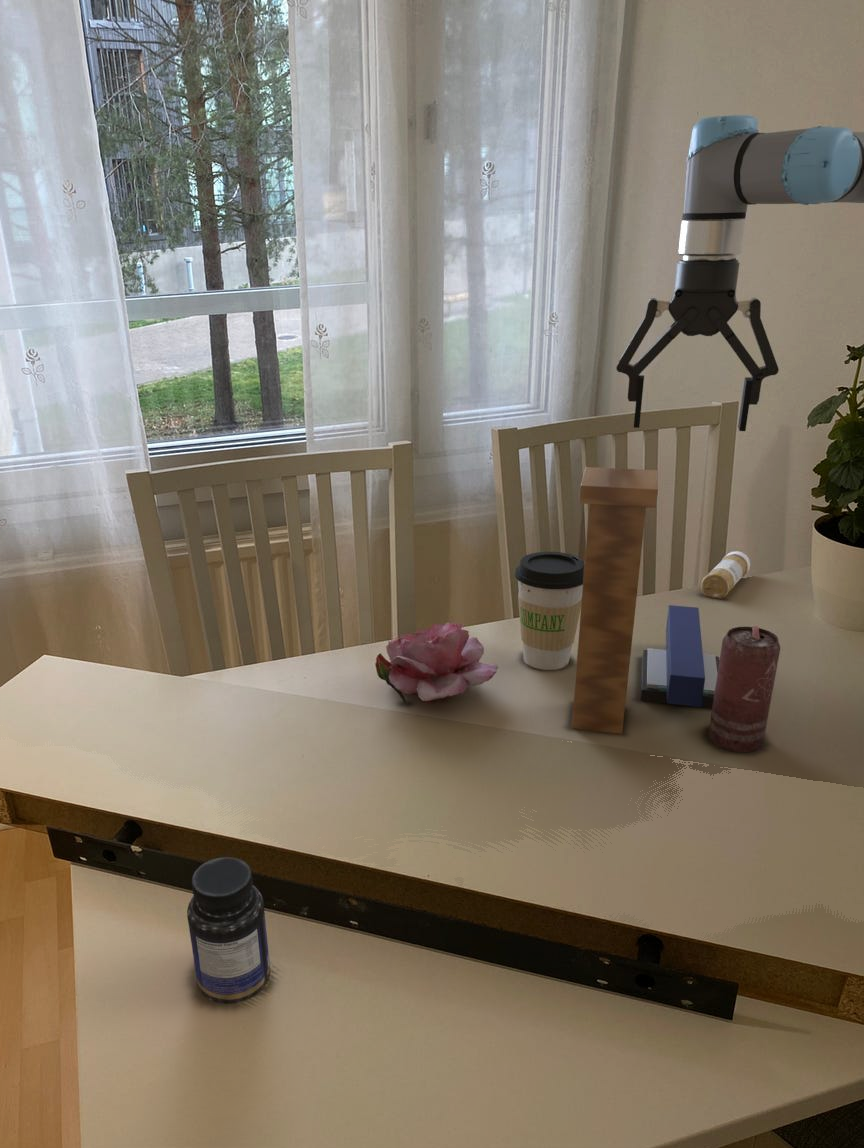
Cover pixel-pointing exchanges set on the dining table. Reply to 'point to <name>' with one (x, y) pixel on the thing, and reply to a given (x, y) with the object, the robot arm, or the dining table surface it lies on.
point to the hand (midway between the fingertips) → (688, 427)
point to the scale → (657, 677)
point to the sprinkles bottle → (725, 575)
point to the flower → (434, 663)
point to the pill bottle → (228, 931)
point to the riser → (609, 591)
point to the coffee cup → (549, 606)
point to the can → (744, 688)
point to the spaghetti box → (684, 657)
